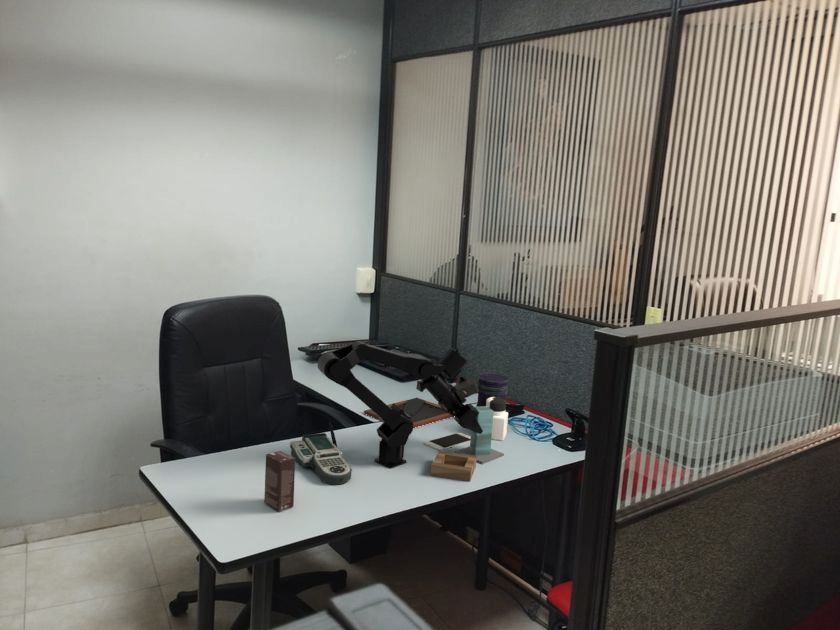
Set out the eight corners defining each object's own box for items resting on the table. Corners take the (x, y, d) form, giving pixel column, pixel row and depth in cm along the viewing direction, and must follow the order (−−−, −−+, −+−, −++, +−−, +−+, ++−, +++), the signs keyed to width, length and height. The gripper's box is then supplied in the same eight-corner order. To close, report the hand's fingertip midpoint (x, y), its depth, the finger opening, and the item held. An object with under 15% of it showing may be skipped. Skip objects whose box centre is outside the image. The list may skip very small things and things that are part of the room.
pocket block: (470, 481, 176) (470, 470, 175) (430, 475, 178) (431, 464, 178) (475, 466, 186) (476, 456, 185) (438, 461, 188) (439, 450, 188)
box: (294, 507, 156) (296, 457, 154) (278, 512, 153) (279, 462, 151) (279, 498, 160) (280, 449, 158) (263, 503, 157) (264, 454, 155)
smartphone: (423, 444, 201) (423, 441, 201) (459, 434, 211) (459, 431, 211) (439, 452, 196) (440, 449, 196) (476, 441, 206) (476, 438, 206)
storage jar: (510, 421, 225) (514, 378, 223) (495, 428, 218) (499, 383, 215) (484, 414, 231) (488, 372, 229) (469, 421, 223) (472, 377, 221)
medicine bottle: (506, 433, 214) (509, 397, 212) (503, 441, 207) (506, 403, 205) (484, 430, 215) (487, 394, 213) (480, 437, 209) (483, 400, 207)
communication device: (315, 491, 166) (316, 457, 165) (287, 455, 187) (288, 424, 185) (360, 484, 172) (362, 451, 170) (329, 449, 192) (330, 420, 191)
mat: (482, 464, 188) (482, 462, 188) (454, 453, 195) (455, 451, 194) (503, 455, 195) (504, 453, 195) (476, 445, 202) (476, 443, 202)
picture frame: (416, 402, 243) (363, 415, 225) (416, 396, 242) (364, 409, 225) (458, 417, 229) (406, 432, 211) (459, 411, 229) (406, 426, 211)
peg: (490, 454, 193) (493, 411, 191) (475, 455, 192) (478, 411, 190) (484, 449, 198) (487, 406, 195) (469, 449, 196) (472, 406, 194)
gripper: (474, 379, 180) (509, 418, 185) (451, 361, 197) (483, 397, 202) (444, 408, 179) (480, 446, 184) (423, 388, 196) (456, 423, 201)
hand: (475, 427), depth 193 cm, fingers open, 9 cm apart
